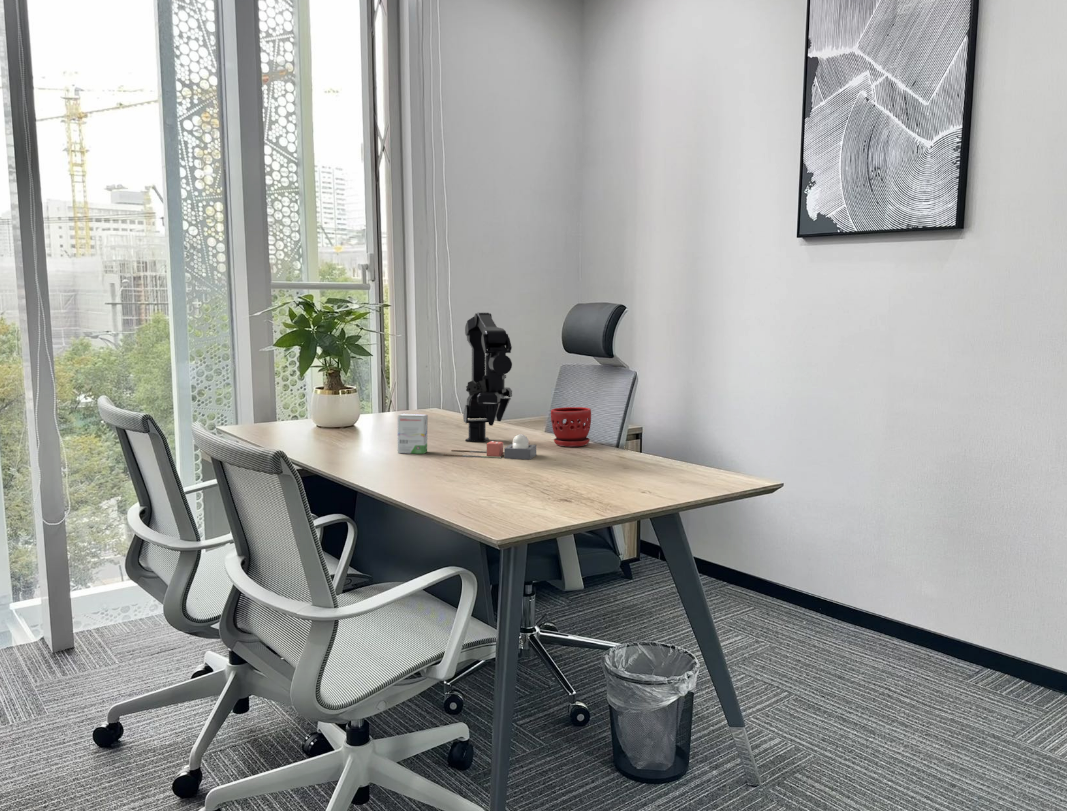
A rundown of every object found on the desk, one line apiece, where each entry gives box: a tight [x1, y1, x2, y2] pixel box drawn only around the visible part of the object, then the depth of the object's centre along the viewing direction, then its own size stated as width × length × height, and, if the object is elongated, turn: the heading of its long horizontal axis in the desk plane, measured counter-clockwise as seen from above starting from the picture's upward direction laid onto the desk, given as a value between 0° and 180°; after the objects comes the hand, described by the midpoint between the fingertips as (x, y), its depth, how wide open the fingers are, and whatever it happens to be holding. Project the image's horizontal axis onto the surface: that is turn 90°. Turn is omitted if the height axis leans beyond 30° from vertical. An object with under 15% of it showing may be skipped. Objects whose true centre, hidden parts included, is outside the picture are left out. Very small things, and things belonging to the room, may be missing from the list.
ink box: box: [397, 413, 429, 455], centre depth 266 cm, size 9×5×12 cm, turn 84°
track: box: [443, 449, 504, 459], centre depth 263 cm, size 9×18×1 cm, turn 77°
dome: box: [512, 433, 530, 449], centre depth 260 cm, size 5×5×6 cm
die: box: [486, 440, 504, 457], centre depth 262 cm, size 4×4×4 cm
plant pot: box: [550, 406, 592, 448], centre depth 280 cm, size 13×13×12 cm
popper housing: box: [503, 443, 537, 460], centre depth 260 cm, size 8×8×3 cm
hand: (495, 423), depth 261 cm, fingers open, 9 cm apart
